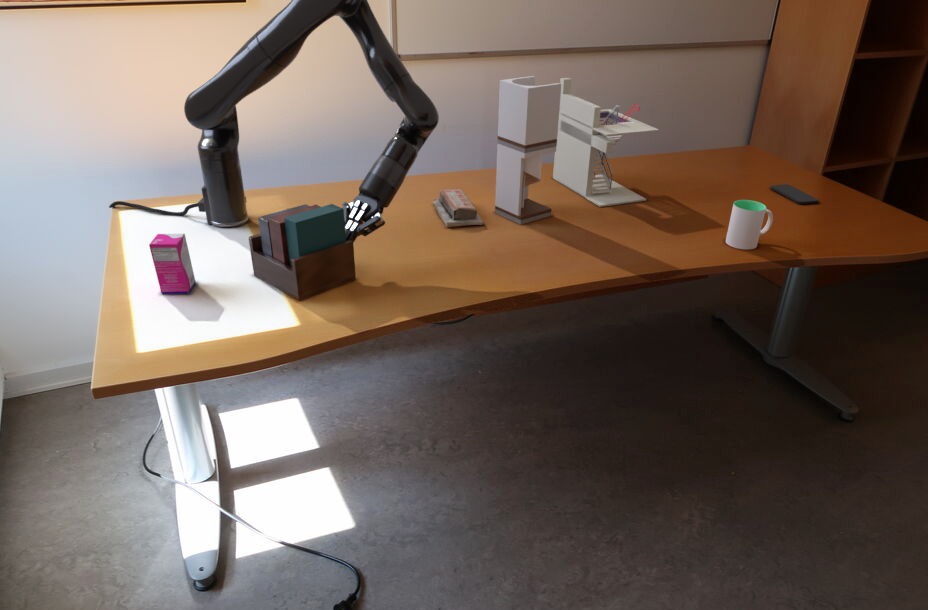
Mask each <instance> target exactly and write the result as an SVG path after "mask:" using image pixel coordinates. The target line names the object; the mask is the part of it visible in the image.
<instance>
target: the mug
mask: <svg viewBox="0 0 928 610" xmlns="http://www.w3.org/2000/svg"><path fill="white" fill-rule="evenodd" d="M765 214H767V216H768V217H767V221H766V224H765V225H764V227H763V228H762V226H763V223H764V220H765V219H764V218H765ZM773 221H774V214H773V212H772V211H771V210H770V209H768V208H767V206H766V205H765V204H764V203H761V202H760V201H756V200H749V199H737V200H735V201H733V204H732V209H731V213H730V218H729V221H728V222H729V224H728V228H727V232H726V236H725V244H727V245H728V246H729V247H732V248H734V249H738V250H754V249H756V248H757V247H758V244H759V239H760V236H761V235H765V234H766V233H768V231H769V230H770V229H771V227H772V225H773Z"/></svg>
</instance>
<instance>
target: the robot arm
mask: <svg viewBox="0 0 928 610" xmlns="http://www.w3.org/2000/svg"><path fill="white" fill-rule="evenodd" d="M333 17H338V18H340V19H341V20H342V21H343V23H344V24H345V25H346V26H347V27H348V28H349V29H350V31H351V32H352V34H353V36H354V38H355V39H356V41H357V42H358V44H359V47H360V49H361V51H362V54H363V57H364V60H365V62H366V64H367V67H368V69H369V71H370V73H371V75H372V76H373V78H374V79H375V81H376V82H377V84H378V86H379V87H380V89H381V90H382V92H383V93H384V95H385V96H386V97H387V98H388V100H390V101H391V102H392V103H395V104H396V105H397V107H398V108H399V109H400V111H401V112H402V113H403V115H404V116H403V118H402V120H401V121H400V124H399V125H398V128H396V131H395V133H394V135H393V136H392V137H391V139H390V140H389V141H388V142H387V143H386V145H385V147H384V148H383V150H382V152H381V153H380V155H379V157H377V159H376V160H375V161H374V163H373V164H372V165H371V167H370V169H369V171H368V172H367V174H366V175H365V177H364V179H363V180H362V182H361V183H360V185H359V187H358V191H359V193H358V195H357V196H355V198H353V200H352V202H349V203H348V202H347V201H344V202H342V207H341V208H343V209H344V222H345V235H346V241H348V240H351V241H353V244H354V243H355V241H356V240H357V238H358V237H360V236H363V237H367V236H368V235H370V234H371V233H373V232H375V231H377V230H378V229H380V228H382V227H383V226H384V225H386V221H385V220H384V219H383V216H382V215H383V213H384V210H385V208H386V209H387V208H388V207H390V204H391V203H392V201H393V200H394V198H395V196H396V195H397V193H398V192H399V189H401V187H402V185H403V183H404V181H405V178H406V176H407V174H408V173H409V171H410V170H411V168H412V166H413V165H414V163H415V162H416V159H417V157H418V155H419V152H420V150H421V149H422V147H423V146H424V145H425V143H426V142H427V141H428V139H429V137H430V135H431V134H432V133H433V131H434V130H435V129H436V128H437V127H438V124H439V121H440V119H439V118H440V117H439V111H438V109H437V107H436V105H435V103H434V102H433V101H432V99H431V98H430V97H429V96H428V94H426V92H425V91H424V90H423V89H422V88H421V86H419V85H418V84H417V83H416V81H415V80H414V79H413V77H412V75H411V73H410V72H409V70H408V69H407V67H406V66H405V64H404V62H403V61H402V60H401V58H400V56H399V55H398V54H397V52H396V51H395V50H394V47H393V46H392V44H391V42H389V39H388V38H387V36H386V34H385V33H384V31H383V29H382V27H381V26H380V24H379V22H378V20H377V18H376V16H375V15H374V12H373V10H372V8H371V6H370V3H369V1H368V0H290V2H288V4H287V5H286V6H285V7H283V9H281V10H280V11H279V12H277V13H276V14H275V15H274V16H273V17H272V18H271V19H270V20H269V21H268V22H267V23H266V24H264V25H263V26H262V27H261V28H259V30H257V31H256V32H255V33H254V34H253V35H252V36H250V38H249V39H248V40H247V41H245V43H243V45H242V46H241V47H240V49H238V50H237V51H236V52H235V53H234V55H232V57H231V58H230V59H229V60H228V61H227V62H226V63H225V65H224V66H223V67H222V68H221V69H220V70H219V71H218V73H216V74H215V75H214V76H213V77H211V78H210V79H209V80H207V81H206V82H204V83H203V84H202V85H200V86H199V87H197V88H196V89H195V90H193V91H191V92H190V93H189V94H188V95H187V97H186V98H185V102H184V106H183V111H184V116H185V119H186V121H187V122H188V123H189V124H190V125H191V126H192V127H193V128H196V129H198V130H201V136H200V138H199V141H198V142H197V152H198V158H199V164H200V171H201V175H202V182H203V186H202V187H201V194H202V198H201V199H200V200H199V201H198V202H194V203H191V204H188V205H186V206H185V207H184V209H183V211H179V212H175V211H169V210H163V209H160V208H153V207H149V206H146V205H142V204H137V203H131V202H126V201H121V200H120V201H119V200H118V201H114V202H111V204H109V206H108V208H109V209H111V208H112V209H113V208H115V207H116V206H125V207H129V208H135V209H140V210H143V211H146V212H151V213H156V214H160V215H166V216H173V217H174V216H175V217H176V216H177V217H182V216H185V215H187V214H188V212H189V210H191V209H193V208H198V212H200V213H205V217H206V223H207V225H212V226H214V227H218V228H233V227H239V226H242V225H245V224H246V223H248V222H249V219H250V218H249V214H248V208H247V197H246V195H245V187H244V183H243V182H244V180H243V175H242V174H243V173H242V168H241V167H242V166H241V161H240V154H239V144H240V129H239V120H238V112H237V105H238V104H239V103H240V102H241V101H243V100H244V99H245V98H246V97H248V96H250V95H251V94H253V93H254V92H256V91H257V90H259V89H261V88H262V87H264V86H265V85H267V84H268V83H270V82H271V81H273V80H274V79H275V78H276V77H278V76H279V75H280V74H281V73H282V72H283V71H284V70H285V69H287V68H288V67H289V66H290V65H291V64H292V63H293V62H294V60H295V59H296V58H297V56H298V55H299V53H300V52H301V50H302V49H303V46H304V44H305V42H306V40H307V39H308V37H309V36H310V35H311V34H312V33H313V32H314V31H315V30H317V28H319V27H321V26H322V25H323V24H324V23H326V22H327V21H328V20H330V19H332V18H333Z"/></svg>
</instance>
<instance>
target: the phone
mask: <svg viewBox="0 0 928 610" xmlns="http://www.w3.org/2000/svg"><path fill="white" fill-rule="evenodd" d="M770 189H771V190H773V191H774V192H776V193H778V194H780V195H781V196H783V197H785V198H787V199H789V200H791V201H793V202H795V203H797V204H799V205H806V204H816V203H819V199H818V198H817V197H814V196H812V195H810V194H809V193H806V192H805V191H803V190H801V189H799V188H797V187H795V186H793V185H791V184H789V183H788V184H787V183H784V184H783V183H782V184H772V185H770Z"/></svg>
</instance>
